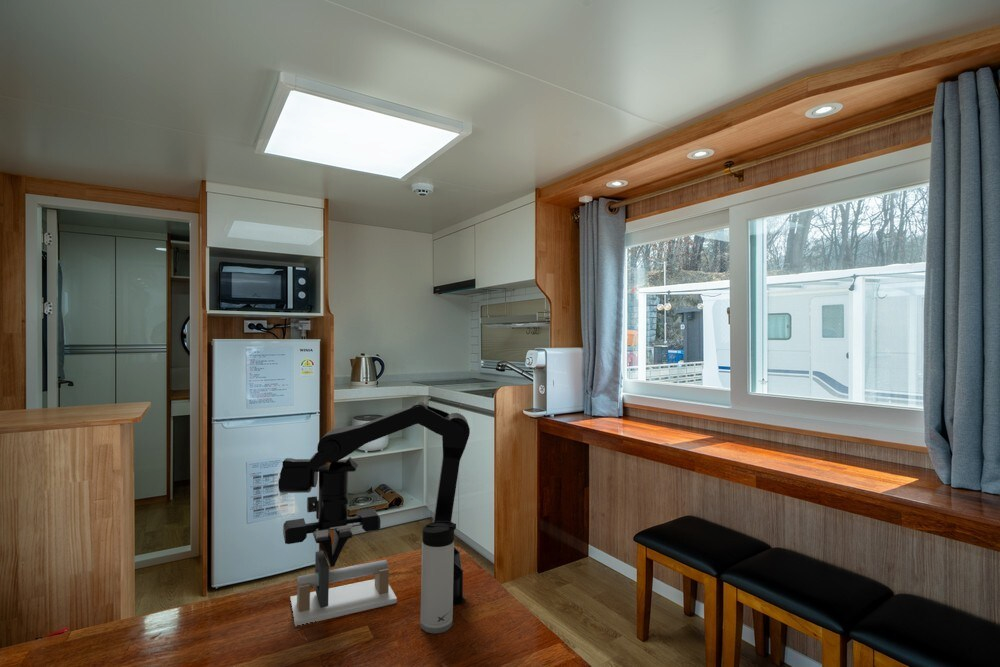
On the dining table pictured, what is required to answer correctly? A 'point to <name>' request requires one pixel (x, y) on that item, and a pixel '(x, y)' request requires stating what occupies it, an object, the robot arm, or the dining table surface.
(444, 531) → the travel mug
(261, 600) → the dining table surface
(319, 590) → the dark grey flat block
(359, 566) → the pipe stand
